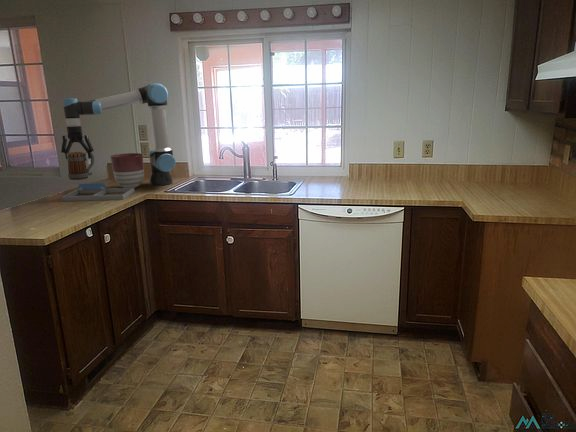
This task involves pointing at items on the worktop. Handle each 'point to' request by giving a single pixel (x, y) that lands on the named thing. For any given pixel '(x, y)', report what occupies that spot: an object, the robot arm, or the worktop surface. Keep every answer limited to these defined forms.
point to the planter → (128, 169)
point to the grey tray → (97, 192)
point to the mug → (78, 165)
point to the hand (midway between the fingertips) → (79, 164)
